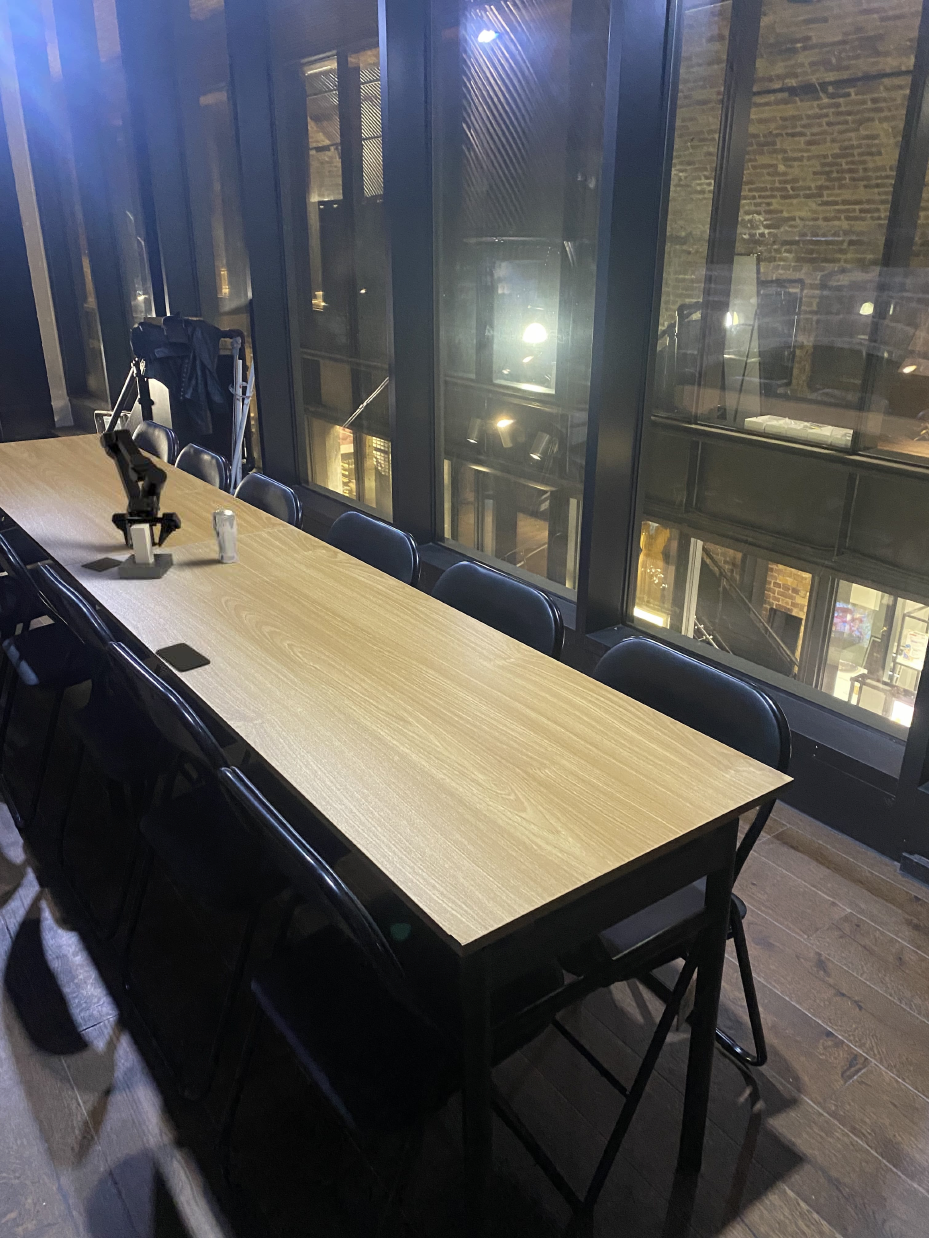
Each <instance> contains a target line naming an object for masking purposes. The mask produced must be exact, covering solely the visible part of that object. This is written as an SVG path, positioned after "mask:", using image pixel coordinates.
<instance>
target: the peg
mask: <svg viewBox="0 0 929 1238" xmlns="http://www.w3.org/2000/svg"><path fill="white" fill-rule="evenodd" d="M130 529H131V536H132V542H133V547H132V548H133V554H135V560H136V563H152V562H153V561H154V556H153V554H154V551H153V546H152V543H151V536H150V529H149V524H134V525H133V526H132V527H131V528H130Z"/></svg>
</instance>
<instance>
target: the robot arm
mask: <svg viewBox="0 0 929 1238" xmlns="http://www.w3.org/2000/svg"><path fill="white" fill-rule="evenodd" d="M99 442H100V446H101V447H102V448H103V449H104V452H105V454H106V456H108V457H109V458H110V459H111V460H113V462H114V464H115V467H116V470H117V473H118V476H119V478H120V481H121V484H122V487H123V490H124V493H125V495H126V498H127V501H128V502H127V505H126V509H125V511H126V512H114V513H113V514H112V516H111V520H110V521H111V522H112V524H113V525H114V527H115V528H116V529H117V530H118V531H119V530H120V531H121V532H122V534H123V539H124V543H125V547H126V548H129V547H130V548H131V547H132V548H133V542H132V536H131V529H130V528H131V527H132V526H133V525H134V524H149V529H150V536H151V543H152V547H154V546H158V548H161V547H162V545H163V544H164V543H165V541H166V540H167V539H168V537H170V535H172V533H173V532H176V531H177V530H180V529H181V528H182V520H181V519H180V516H179V515H178V514H177V513H176V512H174V511H173V512H172V511H170V512H168V511H166V512H165V511H164V512H163V513H162V514H161V516H159V512H161V506H160V503H161V495H162V491H163V489H164V488H165V485H166V482H167V480H168V474H167V472H166V470H164V469H163V468H161V467H159V466H157V464H156V463H154V461H153V460H152V459H151V458H150V457H148V456H146V455H144V454H143V453H142V452H141V449H140V448H139V446H138V444H136V442H135V440H134V438H133V437H132V433H131V430H130V429H129V428H128V429H127V428H120V429H114V430H112V431H106V432H105V431H104V432H103V433H102V435H100V437H99ZM139 483H141V487H140V485H139ZM158 524H159V525H160V530H159V535H158V540H157V541H158V542H157V541H156V539H155V531H154V527H157V526H158Z"/></svg>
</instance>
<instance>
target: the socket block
mask: <svg viewBox="0 0 929 1238" xmlns="http://www.w3.org/2000/svg"><path fill="white" fill-rule="evenodd" d="M153 556H154V561H153V562H152V563H136V560H135V554H134V553H131V554H130V555H129V556H127V558H126V559H125V560H123V561H124V562H123V563H121V564H120V565H119V566H117V573H118V577H119V578H118V580H119V579H120V580H121V579H122V580H123V579H126V580H128V579H130V580H131V579H133V580H134V579H137V580H138V579H162V578H163V577H164V576H165V575H166V574H167V572H168V571H170V570H171V568H172V567H173V566H174V560H173V554H172V553H153Z"/></svg>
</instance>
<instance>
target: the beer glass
mask: <svg viewBox="0 0 929 1238" xmlns="http://www.w3.org/2000/svg"><path fill="white" fill-rule="evenodd" d="M211 517H212V531H213V534H214V538H215V541H216V545H217V549H218V557H217V559H218V562H219V563H222V564H234V563H236V562H238V561H239V559H240V557H239V554H238V550H237V541H238V539H237V538H238V527H237V525H238V523H237V517H236V513H235V511H234V510H232V509H220V510H219V509H218V510H215V511H213V512H211Z"/></svg>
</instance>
